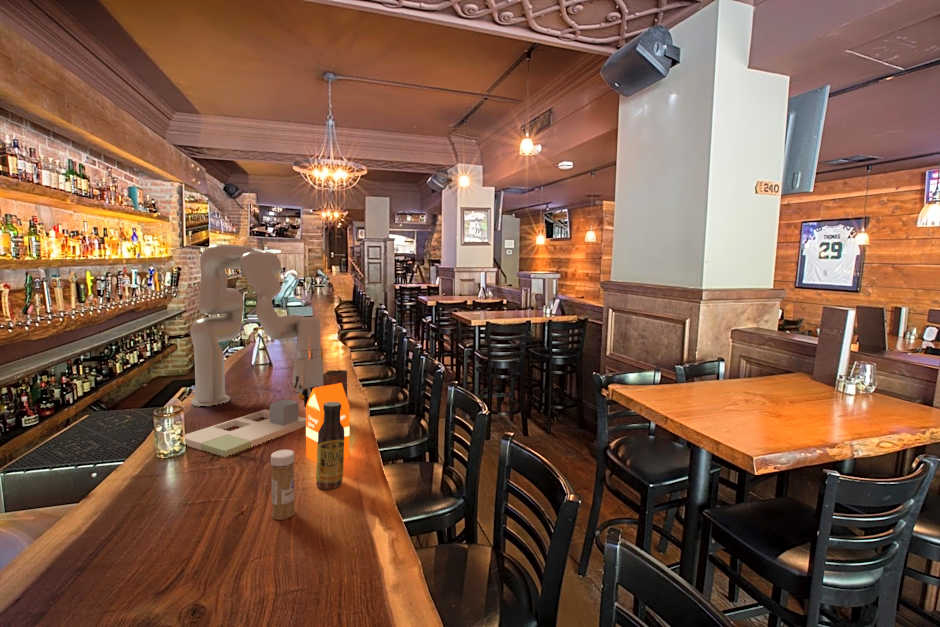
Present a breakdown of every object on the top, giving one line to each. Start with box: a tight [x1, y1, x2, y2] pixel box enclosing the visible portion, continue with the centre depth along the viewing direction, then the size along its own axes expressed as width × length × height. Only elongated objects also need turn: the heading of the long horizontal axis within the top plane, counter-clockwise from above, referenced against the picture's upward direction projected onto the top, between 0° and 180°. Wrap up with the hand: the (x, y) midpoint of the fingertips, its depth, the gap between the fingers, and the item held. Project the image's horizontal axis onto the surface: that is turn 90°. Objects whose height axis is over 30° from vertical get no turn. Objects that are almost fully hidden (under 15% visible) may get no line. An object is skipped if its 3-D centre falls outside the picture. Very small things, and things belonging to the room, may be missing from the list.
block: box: [269, 398, 299, 426], centre depth 148 cm, size 6×6×6 cm
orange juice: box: [305, 383, 351, 464], centre depth 126 cm, size 8×9×20 cm
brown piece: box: [323, 369, 348, 399], centre depth 143 cm, size 8×7×20 cm
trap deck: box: [184, 408, 306, 458], centre depth 142 cm, size 20×30×2 cm, turn 154°
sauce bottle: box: [315, 402, 345, 490], centre depth 110 cm, size 6×6×20 cm
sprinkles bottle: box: [270, 449, 296, 521], centre depth 96 cm, size 5×5×14 cm
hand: (309, 406), depth 157 cm, fingers closed
